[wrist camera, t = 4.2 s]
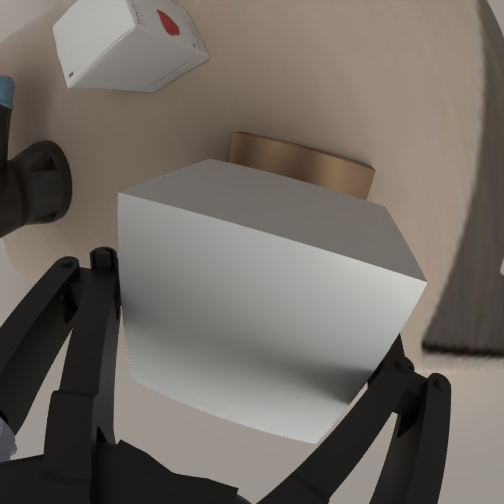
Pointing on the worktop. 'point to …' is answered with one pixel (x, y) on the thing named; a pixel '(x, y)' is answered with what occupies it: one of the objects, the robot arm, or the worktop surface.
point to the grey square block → (259, 294)
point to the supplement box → (127, 44)
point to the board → (301, 163)
